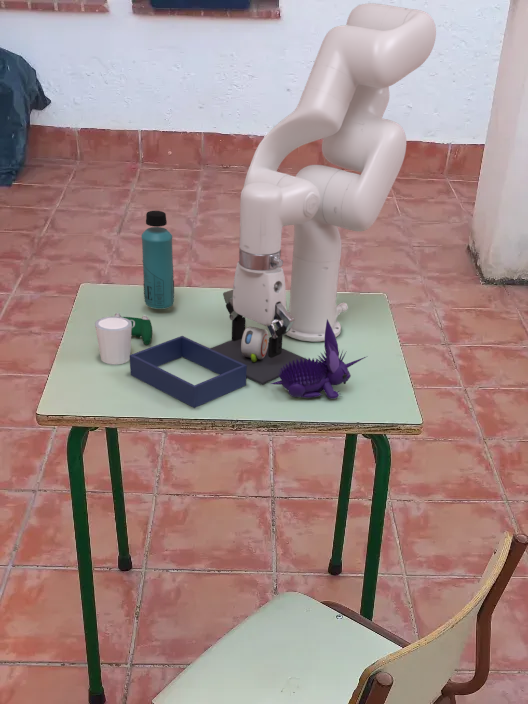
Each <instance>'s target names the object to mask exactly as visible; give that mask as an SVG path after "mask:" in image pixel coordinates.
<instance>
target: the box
mask: <svg viewBox="0 0 528 704" xmlns="http://www.w3.org/2000/svg"><path fill="white" fill-rule="evenodd" d="M181 358H184V359H186V360H188V361H190V362H192V363H194V364H196V365H198V366H201V367H202V368H204V369H206V370H209V371H211V372H213V373H215V374H217V375H216V376H213V377H211V378H208V379H206V380H203V381H201V382H199V383H196V384H193V383H191V382H189V381H187V380H185V379H183V378H181V377H179V376H176V375H175V374H172V373H171V372H169V371H166V370H165V369H162V368H161V367H160V366H163V365H165V364H168V363H170V362H173V361H176V360H178V359H181ZM129 368H130V369H129V370H130V372H129V373H130V376H131V377H133V378H135V379H137V380H139V381H141V382H142V383H145V384H146V385H149V386H151V387H153V388H155V389H157V390H159V391H161V392H163V393H164V394H166V395H168V396H170V397H172V398H174V399H176V400H178V401H180V402H182V403H184V404H186V405H187V406H189V407H192V408H193V409H196V408H198V407H200V406H203V405H204V404H207V403H209V402H212V401H214V400H216V399H218V398H221V397H223V396H225V395H228V394H229V393H232V392H234V391H237V390H239V389H241V388H243V387H245V386H247V377H246V371H247V365H245V364H242V363H240V362H238V361H236V360H234V359H232V358H229V357H227V356H225V355H223V354H221V353H219V352H216V351H214V350H212V349H210V347H208V346H205V345H204V344H201V343H200V342H197V341H195V340H193V339H190V338H188V337H186V336H184V335H181V336H178V337H175V338H171V339H169V340H167V341H164V342H161V343H158V344H156V345H154V346H153V345H152V346H151V347H148V348H145V349H142V350H140V351H137V352H134V353H132V354H131V353H130V360H129Z"/></svg>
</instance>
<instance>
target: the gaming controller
mask: <svg viewBox="0 0 528 704" xmlns="http://www.w3.org/2000/svg"><path fill="white" fill-rule="evenodd" d="M114 316H117V317H123V318H126V319H129V320H130V321H131V323H132V330H131V337H136V338H141V339H142V342H143V345H146V346H149V345H150V344H151V342H152V339H153V325H152V322H151V320H150V318H149V317H148V316H147V315H145V314H143V315H142V317H141V318H140V317H134V316H133V317H132V316H122V315H121V313H119V312H116V313H115V314H114Z"/></svg>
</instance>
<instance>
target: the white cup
mask: <svg viewBox="0 0 528 704" xmlns="http://www.w3.org/2000/svg"><path fill="white" fill-rule="evenodd" d="M123 317H124V316H121V317H117V316H115V315H114V316H113V315H111V316H104V317H101V318H98V319H97V320H96V321H95V322H94V326H95V331H96V332H95V333H96V338H97V344H98V351H99V355H100V360H101V362H102V363H105V364H107V365H123V364H126V363H129V362H130V355H131V351H132V350H131V349H132V336H131V330H132V323H131V321H130V320H129V319H126V318H123Z"/></svg>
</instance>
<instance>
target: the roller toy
mask: <svg viewBox="0 0 528 704" xmlns="http://www.w3.org/2000/svg"><path fill="white" fill-rule="evenodd" d="M269 338H270V335H269V331H268V330H267V329H265V328H259V327H256V326H247V327H245V331H244V333H243V336H242V341H241V352H242V354H243V356H245V357H249V358H251V360H252V362H256V361H257V359H259V360H261V359H263V358H264V357H265V355H266V352H267V348H268V342H269Z"/></svg>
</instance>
